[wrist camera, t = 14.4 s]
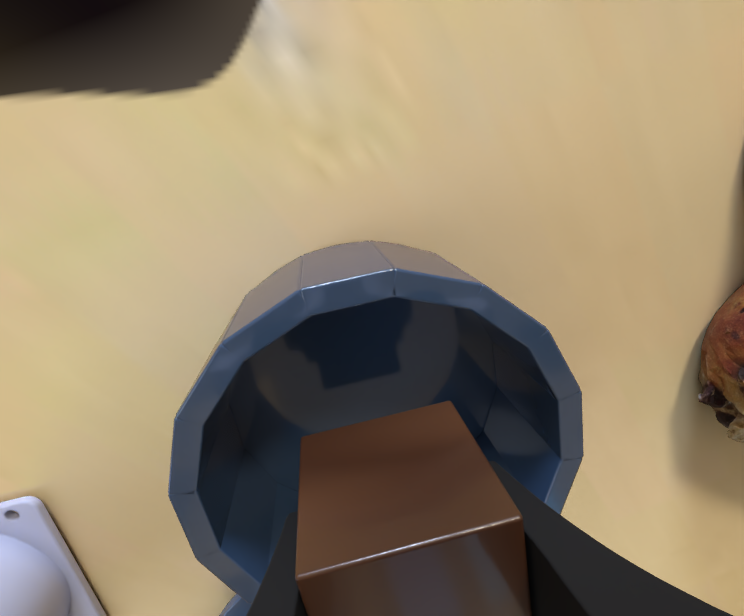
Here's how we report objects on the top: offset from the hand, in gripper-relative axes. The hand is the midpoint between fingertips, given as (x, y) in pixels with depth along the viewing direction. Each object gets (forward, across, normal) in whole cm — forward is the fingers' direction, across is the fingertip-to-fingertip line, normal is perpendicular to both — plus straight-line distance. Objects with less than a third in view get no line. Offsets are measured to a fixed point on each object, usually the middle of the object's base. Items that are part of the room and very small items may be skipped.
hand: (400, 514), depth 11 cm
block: (+1, 0, 0) cm, 1 cm away
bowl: (+7, 0, 0) cm, 7 cm away
